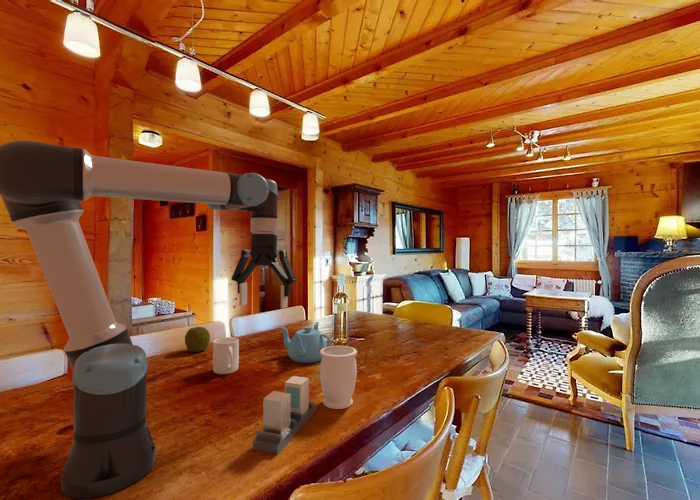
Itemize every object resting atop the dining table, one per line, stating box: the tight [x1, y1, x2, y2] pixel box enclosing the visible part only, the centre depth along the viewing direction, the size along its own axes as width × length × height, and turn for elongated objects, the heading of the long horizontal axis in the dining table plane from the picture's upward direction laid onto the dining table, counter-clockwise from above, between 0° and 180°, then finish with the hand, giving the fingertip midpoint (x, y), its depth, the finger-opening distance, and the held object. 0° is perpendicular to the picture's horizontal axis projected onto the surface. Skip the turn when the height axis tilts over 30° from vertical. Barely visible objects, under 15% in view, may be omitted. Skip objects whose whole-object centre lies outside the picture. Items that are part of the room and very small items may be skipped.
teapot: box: [279, 321, 331, 364], centre depth 137 cm, size 17×19×12 cm
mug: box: [212, 336, 240, 375], centre depth 120 cm, size 9×12×11 cm
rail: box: [252, 390, 316, 456], centre depth 83 cm, size 20×6×10 cm, turn 162°
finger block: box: [284, 375, 310, 415], centre depth 88 cm, size 5×4×8 cm
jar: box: [319, 345, 358, 410], centre depth 97 cm, size 11×10×15 cm
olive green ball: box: [184, 325, 211, 353], centre depth 144 cm, size 10×10×11 cm
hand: (263, 306), depth 100 cm, fingers open, 13 cm apart
